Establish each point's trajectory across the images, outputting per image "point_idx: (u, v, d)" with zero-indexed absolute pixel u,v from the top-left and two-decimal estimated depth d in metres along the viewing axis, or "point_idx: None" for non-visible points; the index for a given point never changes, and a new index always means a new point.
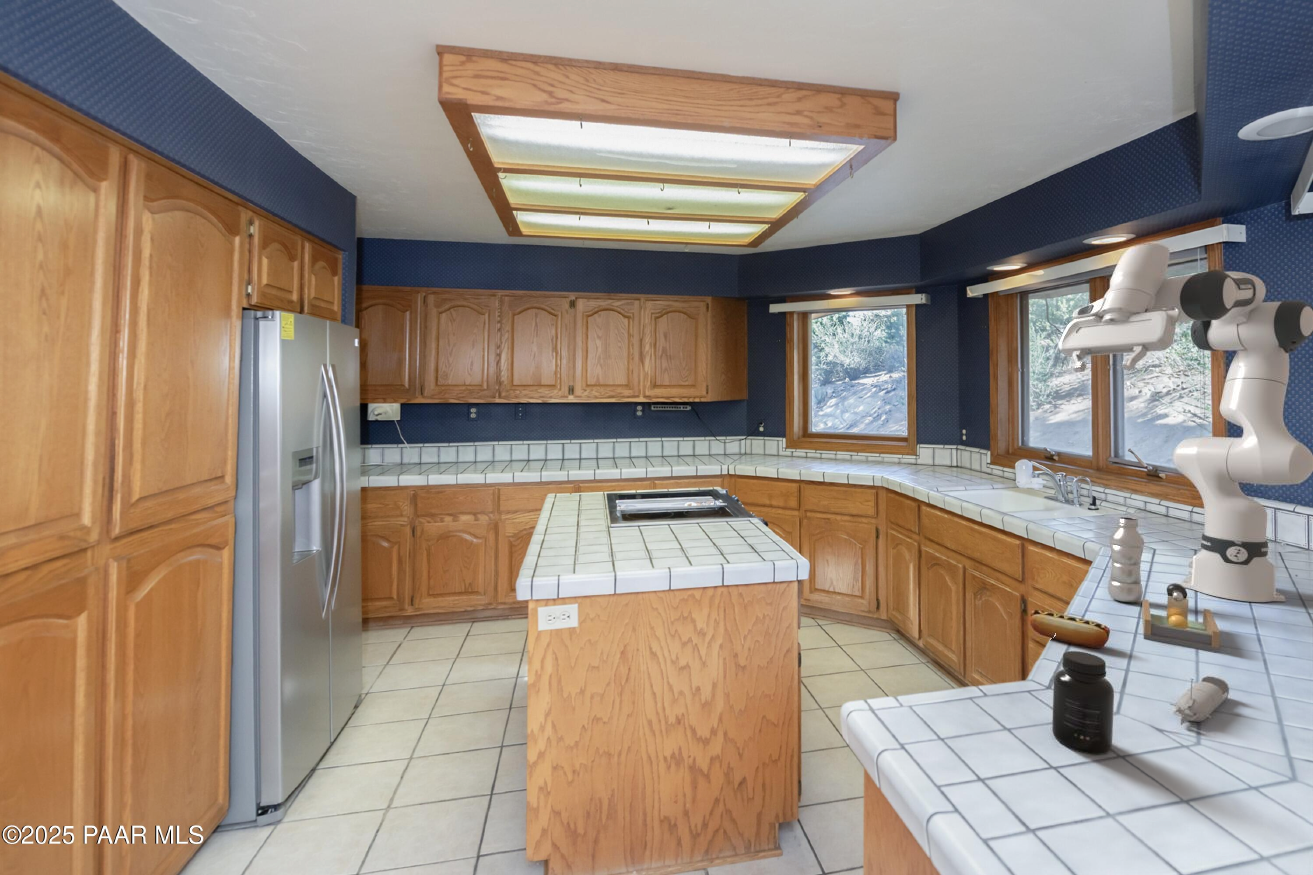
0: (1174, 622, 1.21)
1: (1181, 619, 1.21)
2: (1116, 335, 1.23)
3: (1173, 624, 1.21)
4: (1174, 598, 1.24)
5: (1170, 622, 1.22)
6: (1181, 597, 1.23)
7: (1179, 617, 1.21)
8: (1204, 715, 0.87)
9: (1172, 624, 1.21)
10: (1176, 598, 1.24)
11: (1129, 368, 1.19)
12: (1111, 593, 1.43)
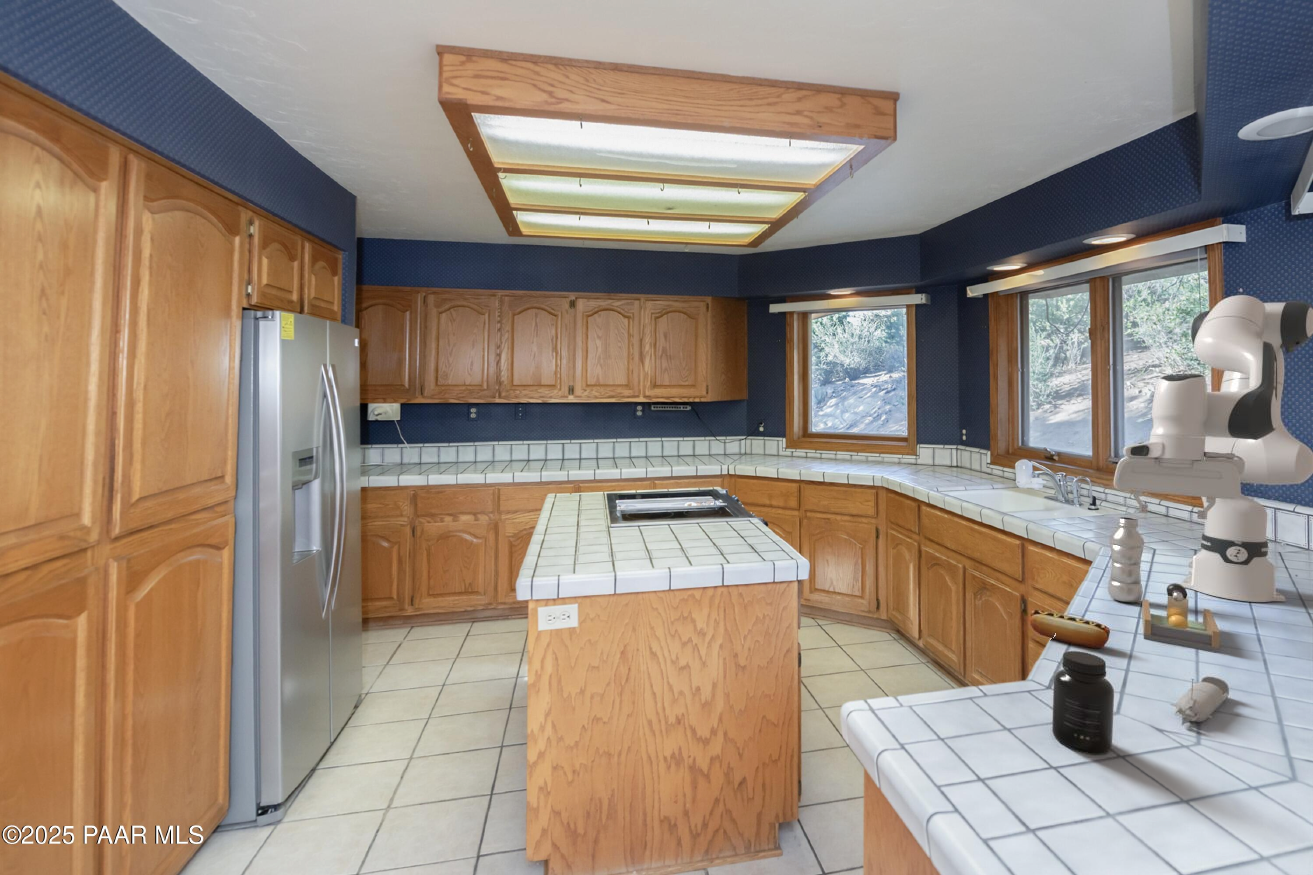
0: (1174, 622, 1.21)
1: (1181, 619, 1.21)
2: (1184, 484, 1.23)
3: (1173, 624, 1.21)
4: (1174, 598, 1.24)
5: (1170, 622, 1.22)
6: (1181, 597, 1.23)
7: (1179, 617, 1.21)
8: (1205, 715, 0.87)
9: (1172, 624, 1.21)
10: (1176, 598, 1.24)
11: None
12: (1111, 593, 1.43)
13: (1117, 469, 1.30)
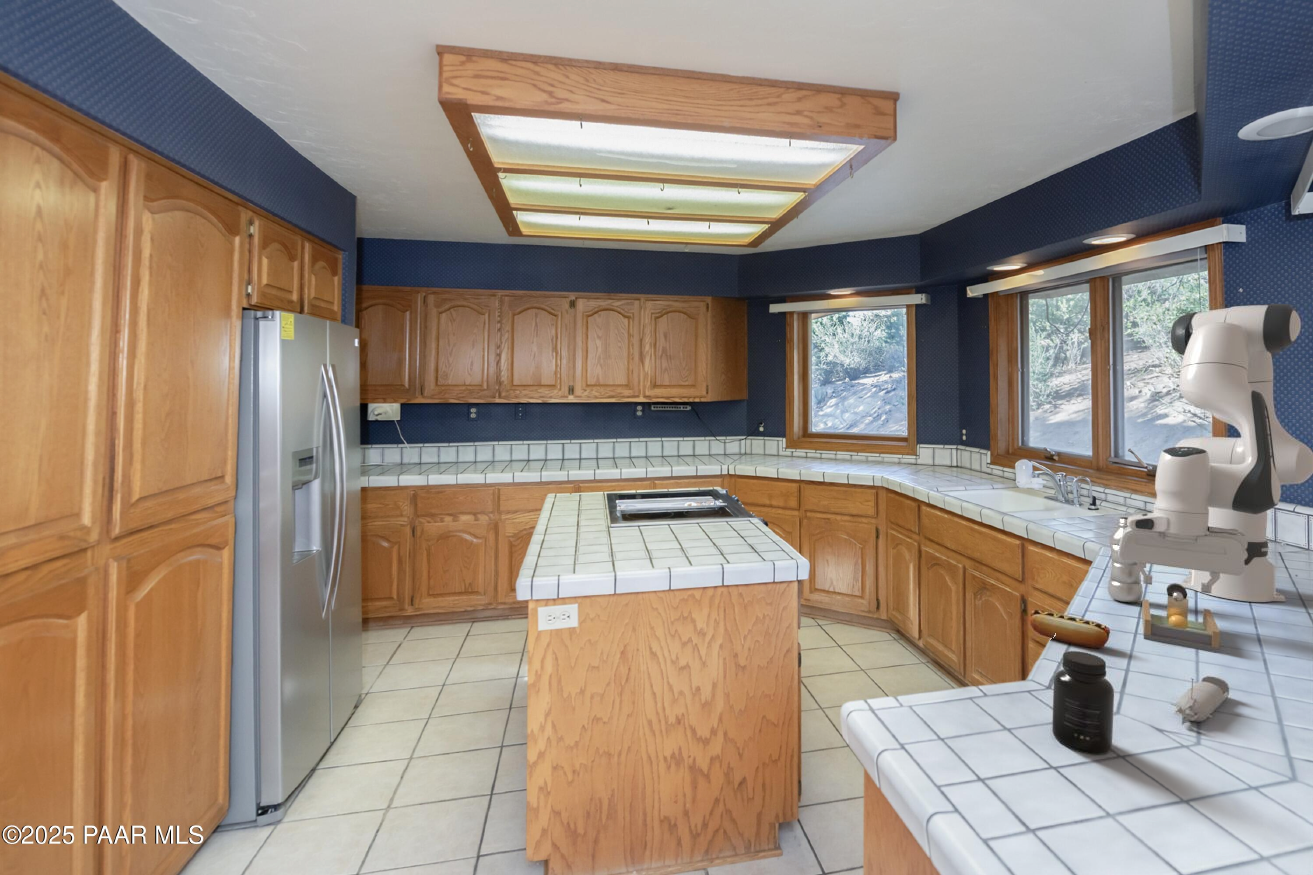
0: (1174, 622, 1.21)
1: (1181, 619, 1.21)
2: (1188, 558, 1.24)
3: (1173, 624, 1.21)
4: (1174, 598, 1.24)
5: (1170, 622, 1.22)
6: (1181, 597, 1.23)
7: (1179, 617, 1.21)
8: (1205, 715, 0.87)
9: (1172, 624, 1.21)
10: (1176, 598, 1.24)
11: None
12: (1111, 593, 1.43)
13: (1122, 540, 1.31)
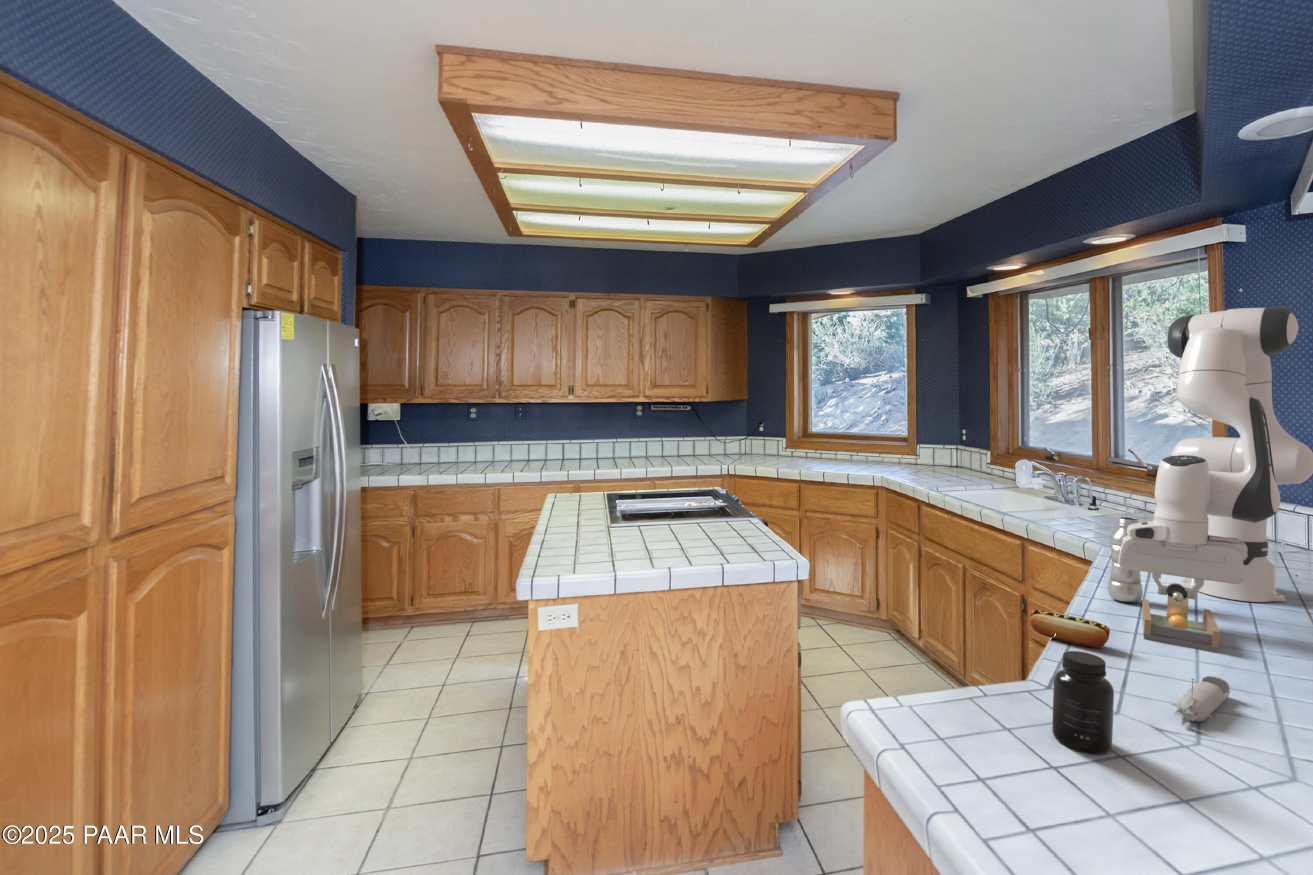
0: (1174, 622, 1.21)
1: (1181, 619, 1.21)
2: (1188, 567, 1.25)
3: (1173, 624, 1.21)
4: (1174, 598, 1.24)
5: (1170, 622, 1.22)
6: (1181, 597, 1.23)
7: (1179, 617, 1.21)
8: (1205, 715, 0.87)
9: (1172, 624, 1.21)
10: (1176, 598, 1.24)
11: None
12: (1111, 593, 1.43)
13: (1122, 549, 1.31)
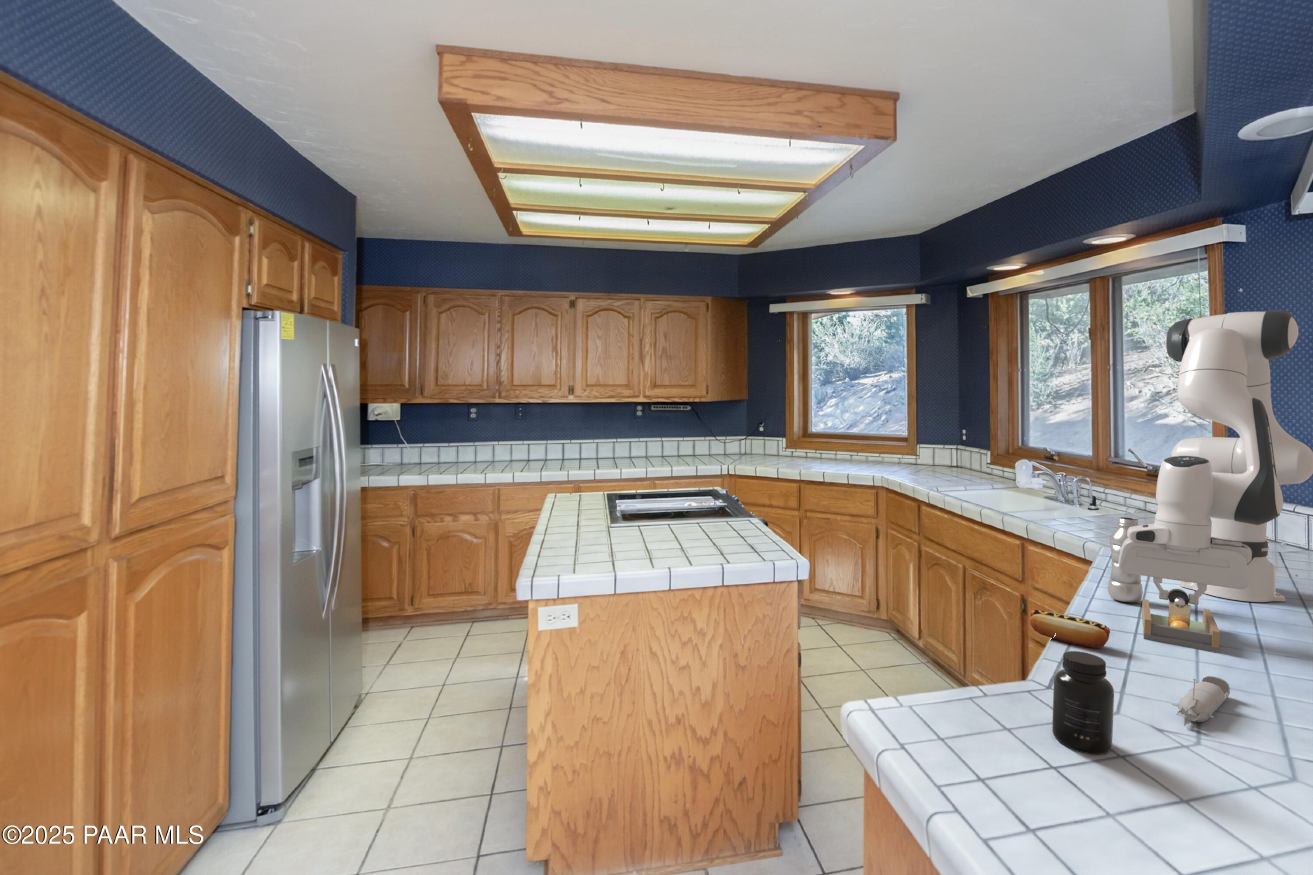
0: None
1: None
2: (1190, 571, 1.21)
3: None
4: (1176, 604, 1.20)
5: None
6: (1183, 603, 1.20)
7: None
8: (1207, 715, 0.87)
9: None
10: (1177, 604, 1.20)
11: None
12: (1111, 593, 1.43)
13: (1122, 552, 1.27)
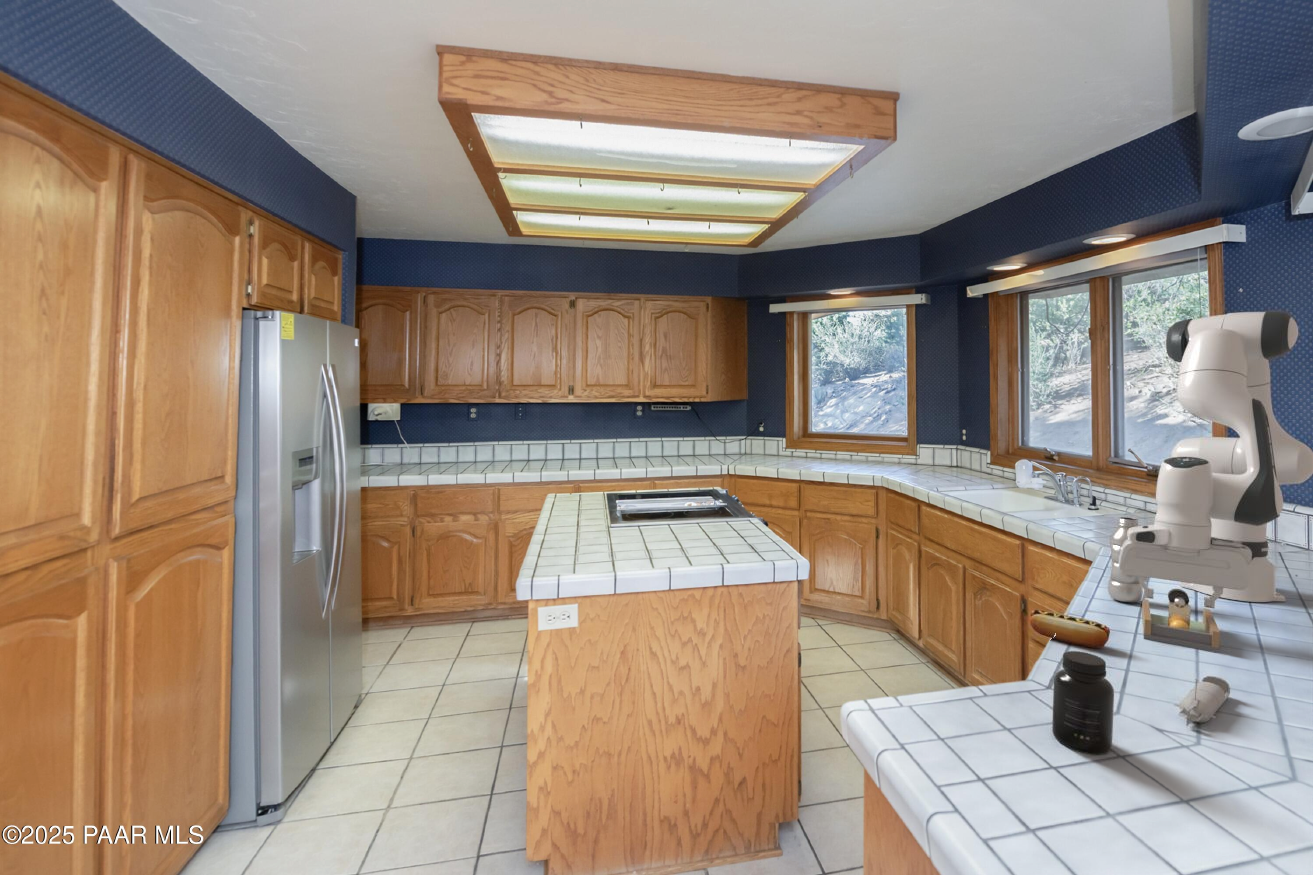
0: None
1: None
2: (1190, 572, 1.21)
3: None
4: (1176, 604, 1.20)
5: None
6: (1183, 603, 1.20)
7: None
8: (1209, 716, 0.87)
9: None
10: (1177, 604, 1.20)
11: None
12: (1111, 593, 1.43)
13: (1122, 553, 1.27)
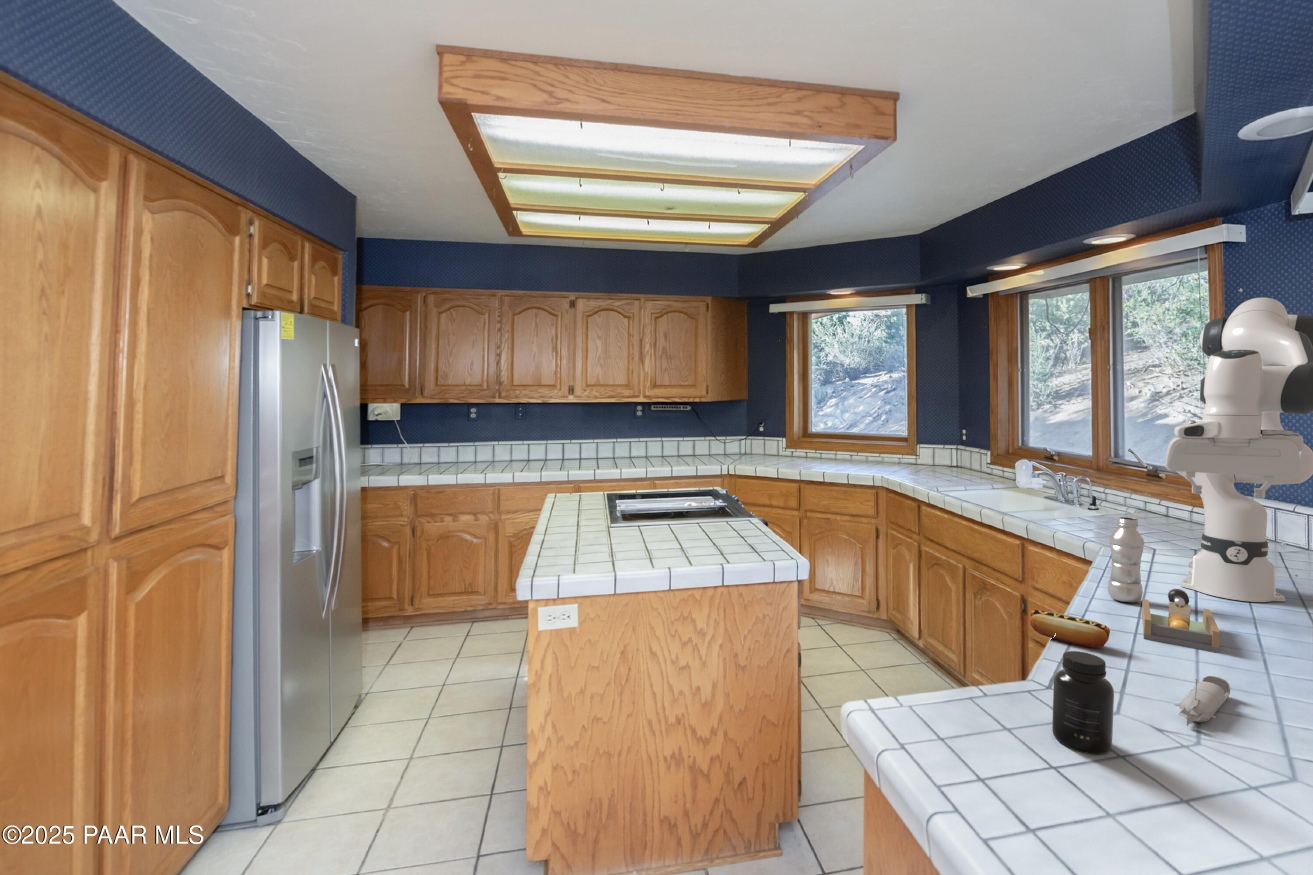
0: None
1: None
2: (1240, 463, 1.21)
3: None
4: (1176, 604, 1.20)
5: None
6: (1183, 603, 1.20)
7: None
8: (1209, 715, 0.87)
9: None
10: (1177, 604, 1.20)
11: (1261, 497, 1.21)
12: (1111, 593, 1.43)
13: (1169, 450, 1.27)
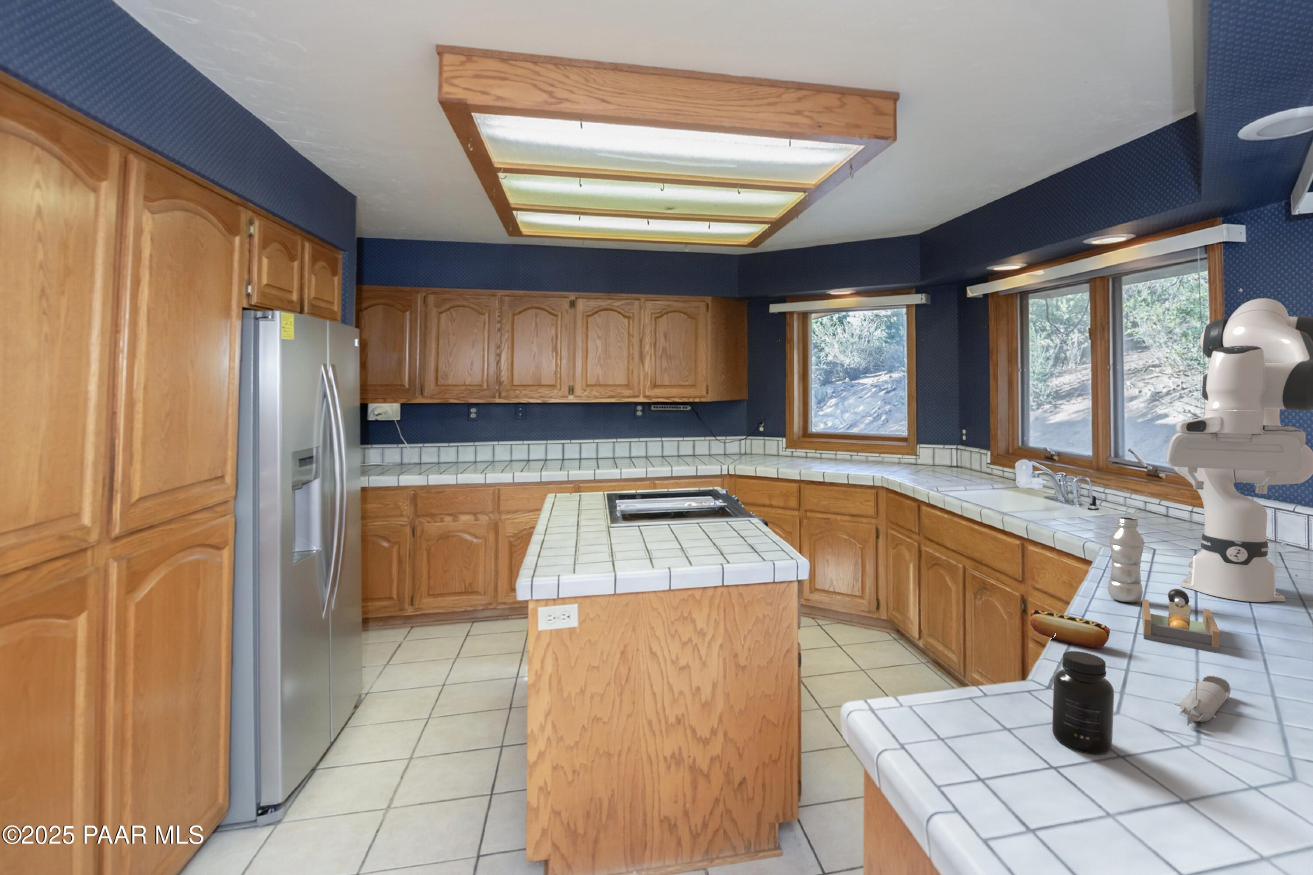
0: None
1: None
2: (1242, 458, 1.21)
3: None
4: (1176, 604, 1.20)
5: None
6: (1183, 603, 1.20)
7: None
8: (1209, 715, 0.87)
9: None
10: (1177, 604, 1.20)
11: (1263, 493, 1.20)
12: (1111, 593, 1.43)
13: (1171, 446, 1.27)
